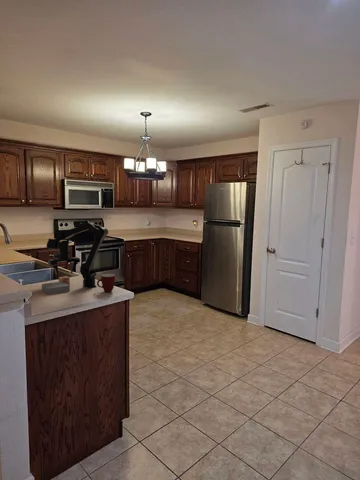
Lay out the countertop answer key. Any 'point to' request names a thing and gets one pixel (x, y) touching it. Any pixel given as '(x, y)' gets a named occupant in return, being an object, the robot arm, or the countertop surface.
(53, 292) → the plinth
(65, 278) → the cube
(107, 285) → the mug
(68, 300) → the countertop surface
